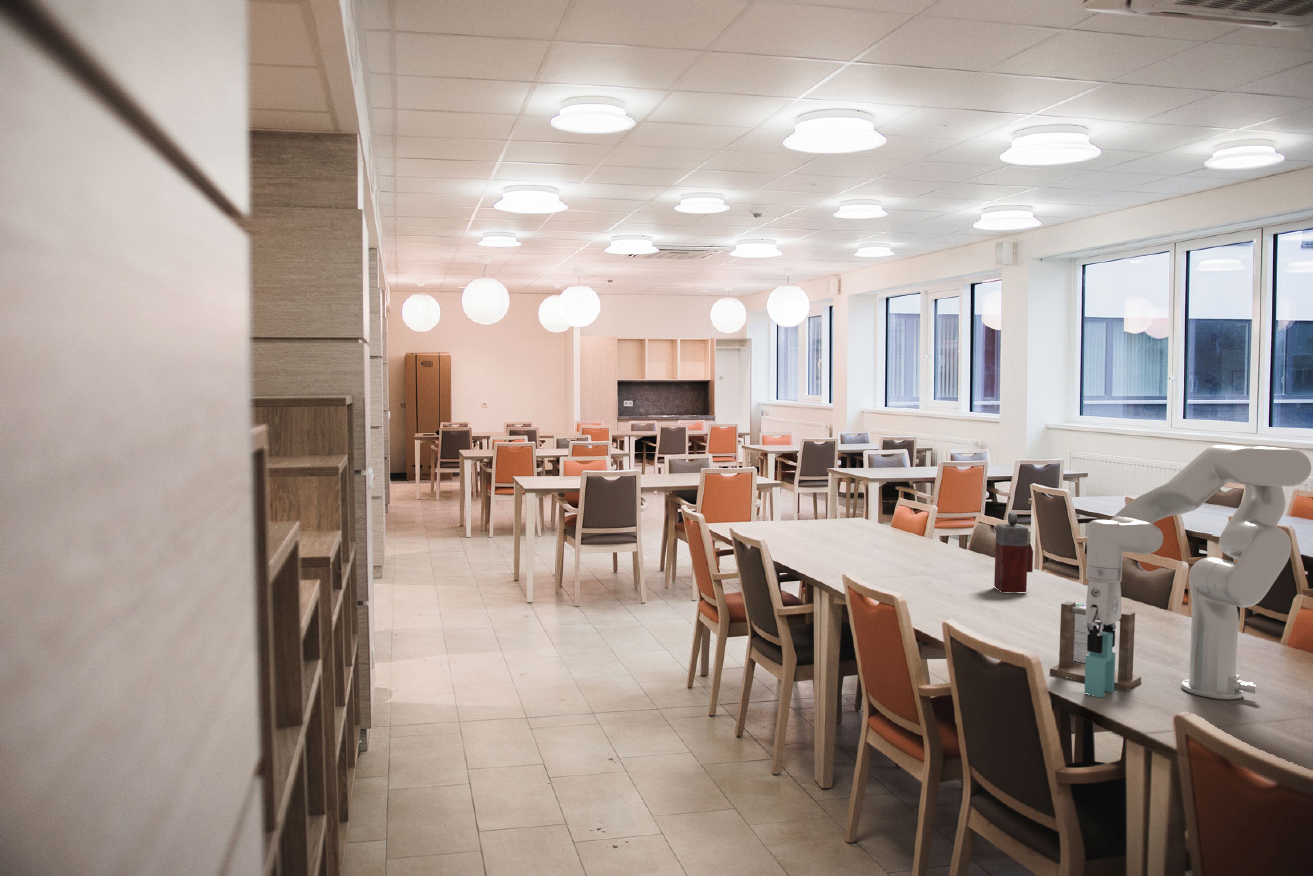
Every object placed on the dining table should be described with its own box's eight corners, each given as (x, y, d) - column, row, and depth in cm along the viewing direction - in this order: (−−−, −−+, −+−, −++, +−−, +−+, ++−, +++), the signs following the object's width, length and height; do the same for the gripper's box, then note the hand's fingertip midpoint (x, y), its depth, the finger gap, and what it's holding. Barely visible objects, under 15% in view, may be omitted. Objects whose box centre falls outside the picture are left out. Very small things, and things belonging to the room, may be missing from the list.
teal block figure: (1113, 691, 221) (1116, 631, 220) (1102, 698, 216) (1104, 637, 215) (1096, 687, 224) (1098, 628, 223) (1084, 694, 219) (1086, 633, 218)
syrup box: (1070, 655, 252) (1072, 602, 251) (1094, 660, 248) (1096, 605, 247) (1064, 660, 247) (1066, 605, 246) (1088, 664, 243) (1090, 609, 243)
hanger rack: (1140, 682, 228) (1143, 611, 228) (1126, 691, 221) (1129, 617, 221) (1065, 666, 241) (1068, 599, 240) (1049, 674, 234) (1052, 604, 233)
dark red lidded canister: (1033, 594, 331) (1036, 514, 330) (1000, 592, 332) (1003, 513, 331) (1025, 588, 340) (1028, 511, 338) (993, 587, 341) (996, 510, 339)
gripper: (1106, 580, 210) (1103, 659, 211) (1134, 571, 222) (1131, 645, 223) (1072, 575, 215) (1069, 652, 216) (1100, 566, 227) (1098, 639, 228)
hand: (1100, 648), depth 219 cm, fingers open, 7 cm apart
